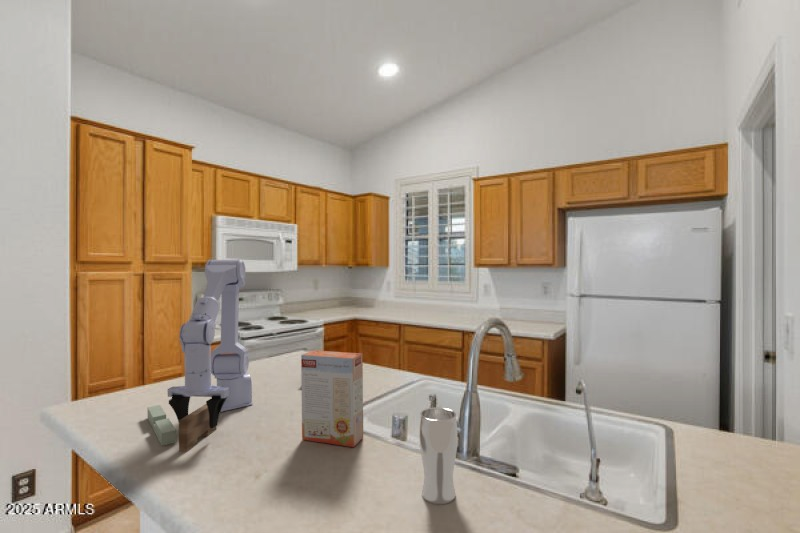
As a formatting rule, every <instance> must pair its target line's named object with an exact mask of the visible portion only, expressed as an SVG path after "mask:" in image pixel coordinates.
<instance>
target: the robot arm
mask: <svg viewBox="0 0 800 533" xmlns="http://www.w3.org/2000/svg"><path fill="white" fill-rule="evenodd" d="M204 275H205V277H206V280H207V281H206V286H205V289H204V293H203V296H202V297H200V298H198V299H197V300H196V303H195V305H194V308H193V310H192V312H191V315H190V317H189V319H188V320H187V321H186V322H185V323H183V324H182V325H181V327H180V331H179V335H178V336H179V343H180V344H181V351H182V353H184V385H182V386H181V385H180V386H172V387H171V386H170V387H169V388H167V397H168V398H171V399H169V400H168V405H169V406H170V407H171V409H172V410H173V412H174V413H175V415H176V418H177V422H178V423H179V420H181V419H182V418H184V417H185V416H187V415H189V405H190V400H191V397H196V398H197V397H203V398H208V397H209V399H208V400H206V401H205V404H207V407H208V411H209V425H210V428H214V427H215V426H216V427H217V426H218V422H219V418H220V414H221V412H222V413H223V412H226V411H230V410H234V409H235V410H236V409H238V408H243V407H247V406H252V405H253V403H254V402H253V395H252V394H253V385H252V378H251V375H250V374H249V373H248V370H249V364H250V362H249V355H248V354H249V351H248V348H246V347H245V346H244V345H242V344H241V343H240V342H239V309H240V308H239V307H240V306H239V305H240V304H239V299H240V298H239V295H240V289H242V288H243V287H245V285H246V265H245V263H244V261H243V259H241V258H239V259H208V260H207V261H206V263H205V267H204ZM220 297H221V305H220V303H219V299H220ZM220 308H221V309H220ZM219 311H220V312H221V313H220V315H221V317H220V319H221V320H220V344H218V346H216V347H215V348H214V349H213V350H212V343H213V342H214V339H215V335H216V323H215V322H216V319H217V317H218V314H219ZM212 376H213V377H214V379H216V385H212Z"/></svg>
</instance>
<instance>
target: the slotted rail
mask: <svg viewBox="0 0 800 533" xmlns="http://www.w3.org/2000/svg"><path fill="white" fill-rule="evenodd" d="M147 419H148V422H149V424H150V426H151V427H152V430H153V431H154V433H155V435H156V438H157V439H158V442H159V443H160V446H162V447H163V446H166V445H171V444H175V443H177V428H175V426H174V424H173V422H172V421H171V420H170V418H169V417H167V414H166V412H165V411H164V409H163V408H162V406H161V404H158V405H154V406H153V405H152V406H147Z"/></svg>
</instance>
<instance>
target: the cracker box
mask: <svg viewBox="0 0 800 533" xmlns="http://www.w3.org/2000/svg"><path fill="white" fill-rule="evenodd" d="M300 361H301V363H300V364H301V366H300V368H301V371H300V372H301V377H300V378H301V439H302V440H303V441H308V442H314V443H315V442H316V443H321V444H322V443H323V444H328V445H329V444H330V445H336V446H342V447H343V446H344V447H347V448H348V447H349V448H354V447H355V446H357V445H358V443H360V441H361V440H363V438H364V384H363V383H364V382H363V381H364V375H363V373H364V372H363V371H364V370H363V364H364V363H363V353H360V352H358V353H356V352H346V351H345V352H341V351H331V350H330V351H328V350H314V349H313V350H310V351H308V352H305V353H302V354H301V360H300Z"/></svg>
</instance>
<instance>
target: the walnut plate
mask: <svg viewBox="0 0 800 533" xmlns="http://www.w3.org/2000/svg"><path fill="white" fill-rule="evenodd" d="M216 430H217V426H215V427H214V428H210V425H209V411H208V407H207V404H206V403H205V404H203V405H202V406H200V407H198V408H197V409H195V410H193V411H192V412H190V413H188V415H187V416H185V417H184V418H182V419H181V420H179V422H178V452H189V451H190V450H192V448H194V447H196V445H198V438H199V437H201V436H203V437H205V436H206V437H208V436H210V435H211V434H212V433H213V432H215V431H216Z"/></svg>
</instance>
